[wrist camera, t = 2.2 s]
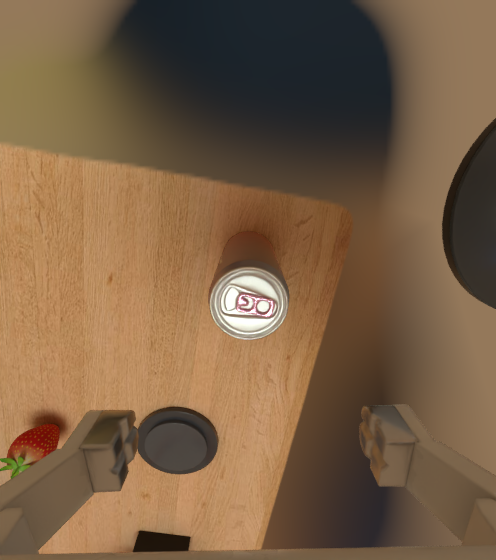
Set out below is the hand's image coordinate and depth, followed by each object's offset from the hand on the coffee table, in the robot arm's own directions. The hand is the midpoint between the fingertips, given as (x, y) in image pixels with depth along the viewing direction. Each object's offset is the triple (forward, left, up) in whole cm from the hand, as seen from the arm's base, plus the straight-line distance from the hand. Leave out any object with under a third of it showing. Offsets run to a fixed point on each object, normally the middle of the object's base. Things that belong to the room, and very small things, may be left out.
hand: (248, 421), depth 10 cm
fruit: (+29, +25, -26) cm, 46 cm away
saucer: (+11, +28, -26) cm, 39 cm away
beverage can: (0, 0, -26) cm, 26 cm away
